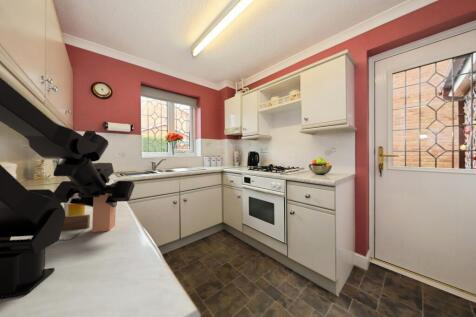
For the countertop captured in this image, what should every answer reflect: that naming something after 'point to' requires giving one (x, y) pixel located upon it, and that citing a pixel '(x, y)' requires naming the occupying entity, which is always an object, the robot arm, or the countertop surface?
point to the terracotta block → (102, 214)
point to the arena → (74, 226)
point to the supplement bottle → (73, 209)
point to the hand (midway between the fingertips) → (107, 206)
